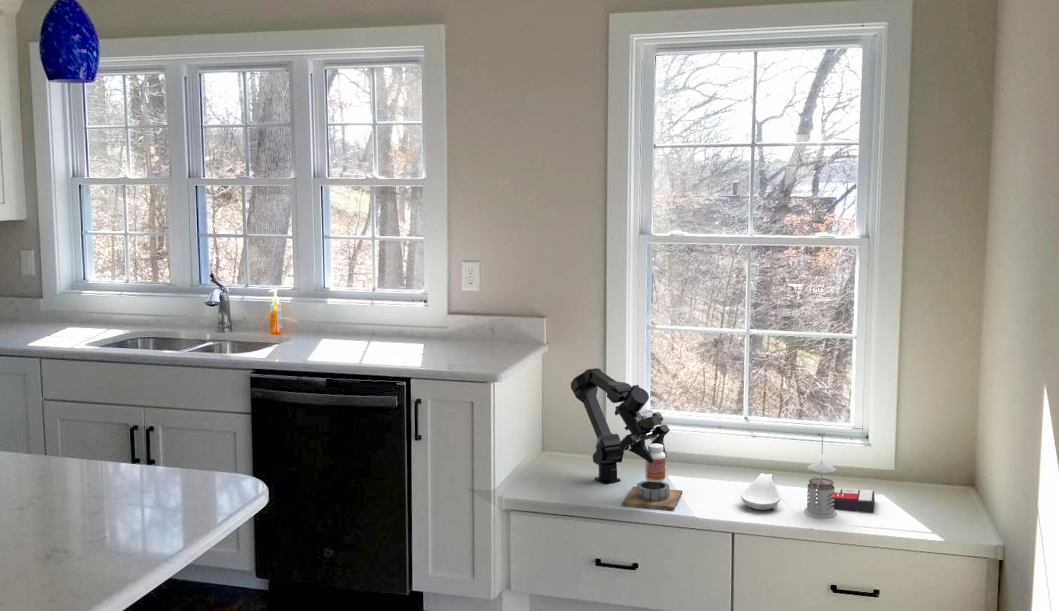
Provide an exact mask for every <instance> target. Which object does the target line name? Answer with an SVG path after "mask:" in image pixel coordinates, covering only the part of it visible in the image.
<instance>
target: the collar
mask: <svg viewBox="0 0 1059 611" xmlns="http://www.w3.org/2000/svg"><path fill="white" fill-rule="evenodd" d="M636 487H637V498H639V499H641V500H644V501H651V502H656V501H664V500H667V499H668V498H669V492H670V490H671V489H670V484H669V483H668V482H665V481H662V482H651V481H648V480H643V481H640V482H638V483H636Z"/></svg>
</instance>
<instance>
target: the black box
mask: <svg viewBox="0 0 1059 611" xmlns="http://www.w3.org/2000/svg"><path fill="white" fill-rule="evenodd" d="M831 494H832V495H834V497H832V499H834V501H832V503H834V506H833V505H832V507H834V510H839V511H840V510H841V511H842V510H843V511H856V512H859V513H860V512H861V513H870V514H873V513H874V511H875V501H876V500H875V491H873V490H871V489H869V490H868V489H859V488H841V487H835V493H831Z"/></svg>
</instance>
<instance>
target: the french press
mask: <svg viewBox="0 0 1059 611" xmlns="http://www.w3.org/2000/svg"><path fill="white" fill-rule="evenodd" d="M826 435H827V434H826V432H825V431H819V434H818V436H820V437H821V453H824V452H823V450H824V448H823V446H824V445H823V444H824V437H826ZM807 470H808V471H809V472H811V473H815V474H819V475H820V477H816V475H815V476H813V478H810V479H809V480H808V482H809V483H808V484H807V499H806V500H807V503H806V504H807V505H806V507H805V509H804V510H803V513H804V515H807V516H809V517H812V518H815V519H832V518H835V517H837V516H838V512H837V511H836V509H834V507H832V505H833V506H834V503H832V501H834V499H832V497H834V495H832V494H831V493H835V488H836V487H835V485H834V483H835V482H834V481H833V480H831V479H829V478H824V477H823V475H825V474H826V475H827V474H832V473H834V472H836V470H837V469H836V468H835V467H834V466H833V465H831V464H829V463H827V462H823V461H821V462H814V463H811V464H810V465H808V466H807Z"/></svg>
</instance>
